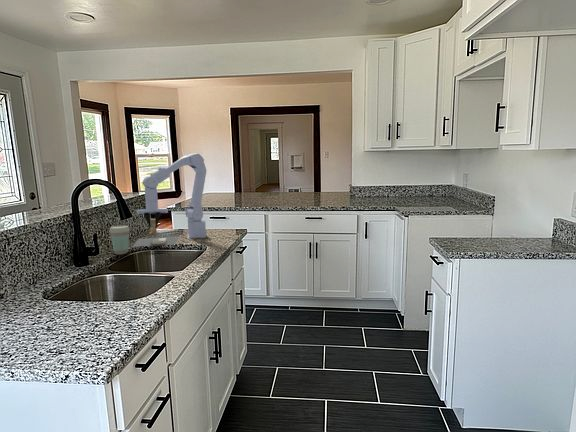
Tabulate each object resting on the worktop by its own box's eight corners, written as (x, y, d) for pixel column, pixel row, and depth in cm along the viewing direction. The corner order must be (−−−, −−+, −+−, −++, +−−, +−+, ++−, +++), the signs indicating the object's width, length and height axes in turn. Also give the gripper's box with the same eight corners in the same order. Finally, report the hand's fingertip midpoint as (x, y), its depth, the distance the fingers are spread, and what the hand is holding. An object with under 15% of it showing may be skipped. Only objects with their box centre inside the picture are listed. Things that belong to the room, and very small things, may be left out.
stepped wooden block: (158, 233, 195) (157, 218, 194) (157, 235, 191) (156, 219, 190) (150, 234, 194) (149, 218, 193) (149, 235, 190) (148, 219, 189)
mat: (178, 237, 205) (178, 236, 205) (175, 245, 188) (175, 244, 188) (138, 239, 201) (138, 238, 201) (132, 247, 184) (132, 246, 184)
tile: (166, 237, 194) (165, 240, 188) (166, 241, 194) (165, 243, 189) (153, 238, 193) (152, 241, 187) (154, 241, 193) (152, 244, 187)
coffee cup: (135, 250, 177) (133, 225, 175) (123, 255, 169) (121, 229, 167) (119, 250, 180) (117, 224, 178) (106, 254, 171) (104, 228, 169)
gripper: (134, 202, 185) (136, 229, 187) (166, 201, 188) (167, 228, 190) (137, 200, 192) (139, 227, 194) (167, 199, 195) (169, 225, 197)
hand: (153, 227), depth 192 cm, fingers closed on stepped wooden block, 2 cm apart
